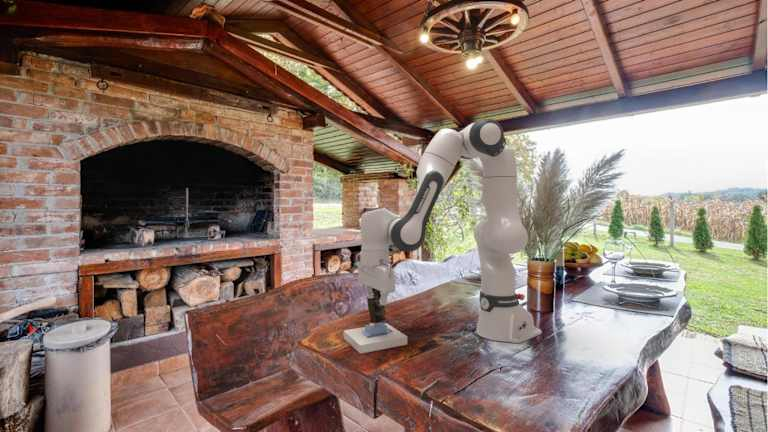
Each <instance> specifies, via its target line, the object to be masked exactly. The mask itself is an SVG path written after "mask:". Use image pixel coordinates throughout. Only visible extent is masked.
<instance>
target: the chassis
mask: <svg viewBox="0 0 768 432" xmlns="http://www.w3.org/2000/svg"><path fill="white" fill-rule="evenodd" d="M385 325H387V329H388V330H390V331H391V333H388V334H387V335H381V336H376V337H370V338H367V337H366V336H364V335H363V334H362V331H365V326H364V327H363V326H362V327H357V328H351V329H345V330H343V339H344V340H345V341H346V342H347V343H348V344H349V345H350V346H351V347H352V348H353V349H355V351H357V352H358V353H359V355H361V354H366V353H370V352H375V351H376V352H377V351H380V350H381V351H382V350H385V349H387V350H388V349H391V348H396V347H401V346H406V345H408V335H405V334H404V333H403V332H401V331H399V330H398V329H397V328H395V327H393V326H392V325H390V324H389V323H386V324H385Z"/></svg>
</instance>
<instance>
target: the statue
mask: <svg viewBox="0 0 768 432" xmlns="http://www.w3.org/2000/svg"><path fill="white" fill-rule="evenodd" d="M372 292H373V294H374V295H373V296H374V297H373V298H368V297H367V296H366V299H367V300H366V301H367V307H368V308H367V309H368V313H369V315H370V320H369V323H380V322H382V323H384V324H386V323H387V324H389V318H388V317H386V309H385V305H381V304H380V303H379V302H380V301H379V299H381V294H380V291H379V290H377V289H374V288H372Z"/></svg>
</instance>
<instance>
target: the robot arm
mask: <svg viewBox="0 0 768 432" xmlns="http://www.w3.org/2000/svg"><path fill="white" fill-rule="evenodd" d="M460 158H461V159H465V160H474V159H475V158H478V159H479V160H480V162H481V166H482V179H481V180H482V183H481V184H482V188H481V189H482V192H481V200H482V204H483V205H484V208H485V212H486V217H487V219H484V220H482V221H479V222H478V223H477V224H476V225H475V227H474V229H473V239H474V240H475V242H476V245H477V252H478V258H479V264H480V282H481V283H480V291H479V305H480V307H479V312H478V313H479V314H478V321H477V323H476V329H475V334H477V335H478V336H480V337H481V338H484V339H487V340H490V341H494V342H495V341H497V342H507V343H514V344H521V343H523V342H525V341H529V340H531V339H532V338H535V337H537V336H538V337H539V336H540V335H542V332H543V331H542V330H541V329H540V328H538V327H537V326H535V320H534V316H533V314H532V313H531V312H530V311H528V310H527V309H526V308H524V306H522V305H521V304H520V301H525V299H526V298H525V297H526V296H525V295H524V294H523V293H522V294H521V293H517V292H516V269H515V267H514V265H513V263H512V259H511V255H512V254H517V253H520V252H522V251H523V250H524V249H525V248H526V247H527V244H528V240H529V234H528V231H527V229H526V227H524V225H523V221H522V219H521V215H520V211H519V203H518V168H517V158H516V154H515V150H514V149H513V147H511V146H509V145H507V140H506V137H505V133H504V130H503V128H502V125H501V124H500V123H499V122H498V120H495V119H493V118H481V119H479V120H477V121H475V122H472V123H470V124H467V126H466V127H464V128H463V129H462V130H460V131H456V130H455V129H452V128H446V127H445V128H442V129H440V130H438V132H437V133H436V134H435V135H434V136H433V137H432V139H431V140H430V142H429V143H428V144H427V146H426V148H425V149H424V152H423V153H422V156H421V157H420V159H419V162H418V165H417V168H416V174H415V175H416V177H417V179H418V189H417V192H416V193H415V195H414V198H413V199H412V202H411V204H410V207H409V208H408V210H407V212H406V214H404V216H402V215H399V214H398V213H397V214H396V213H394V212H392V211H390V210H389V209H387V208H386V207H384V206H378V207H372V208H369V209H366V210H365V211H363V213H362V214H361V218H360V238H361V247H360V249H361V251H360V253H358V254H356V257H355V260H356V262H357V274H358V280H359V282H360V283H362V284H364V287H365V288H364V289H365V291H366V298H367V297H368V298H373V297H374V296H373V295H374V294H373V292H372V288H374V289H377V290H379V291H380V294H381V299H379V301H380V302H379V303H380V304H381V305H384V306H387V303H388V300H387V299H388V297H389V295H390V294H391V293H394V292H395V291H396V279H395V278H396V277H395V270H394V268H393V267H392V266H391V264H390V246H394V247H395V248H396V249H397V250H399V251H401V252H404V253H411V252H412V253H413V252H414V251H417V250H418V249H419V248H421V247H422V246H423V244H424V242H425V239H426V234H427V233H426V231H427V230H426V229H427V224H428V220H429V218H430V216H431V214H432V211H433V209H434V206H436V205H435V204H436V203H437V200H438V198H439V196H440V193H441V192H442V189H443V188H444V186H445V184H446V183H447V181H448V180H449V178H450V176H451V174H452V173H453V170H454V169H455V166H456V165H457V163H458V161H459V160H460ZM519 300H520V301H519Z"/></svg>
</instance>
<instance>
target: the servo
mask: <svg viewBox="0 0 768 432" xmlns="http://www.w3.org/2000/svg"><path fill="white" fill-rule="evenodd" d="M364 327H365V331H362V334H363V335H364V336H366V337H367V338H370V337H376V336H381V335H387V334H388V333H391V331H390V330H388V329H387V325H385V324H384V323H382V322H380V323H370V322H369V324H365V325H364Z"/></svg>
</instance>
